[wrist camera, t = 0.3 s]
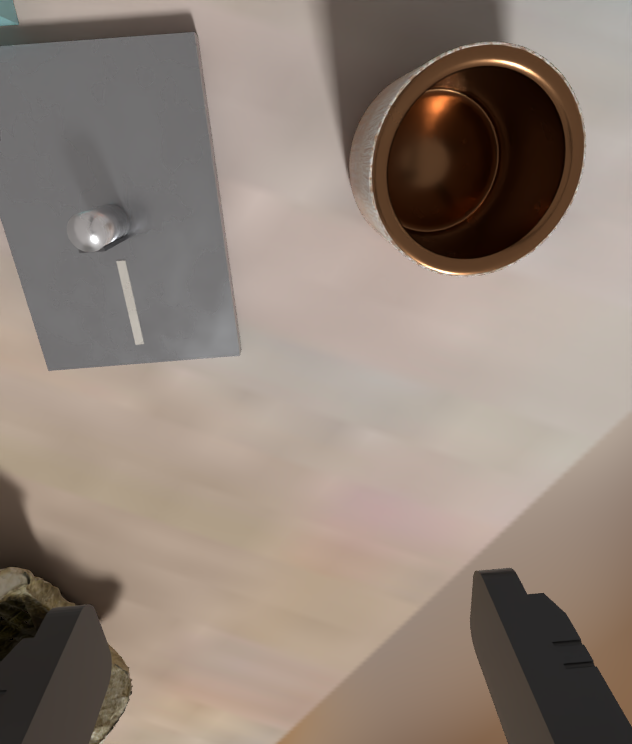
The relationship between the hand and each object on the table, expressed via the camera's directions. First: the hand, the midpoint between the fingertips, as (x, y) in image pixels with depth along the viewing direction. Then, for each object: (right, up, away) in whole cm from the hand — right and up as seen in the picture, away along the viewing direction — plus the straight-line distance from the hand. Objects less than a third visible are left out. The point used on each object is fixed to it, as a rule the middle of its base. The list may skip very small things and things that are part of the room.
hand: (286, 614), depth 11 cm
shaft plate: (-13, +15, +23) cm, 31 cm away
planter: (+8, +19, +23) cm, 31 cm away
